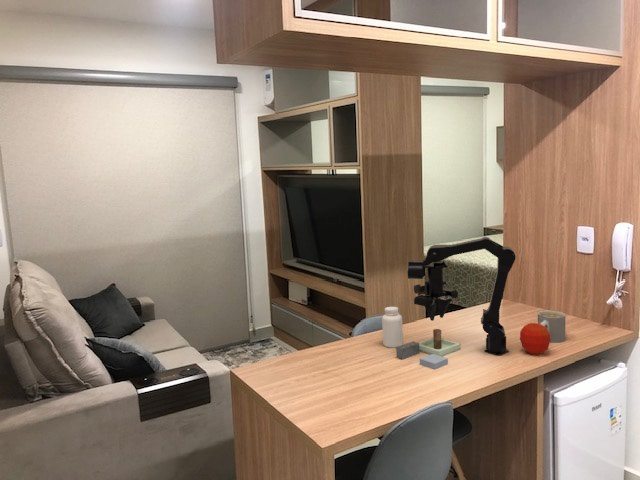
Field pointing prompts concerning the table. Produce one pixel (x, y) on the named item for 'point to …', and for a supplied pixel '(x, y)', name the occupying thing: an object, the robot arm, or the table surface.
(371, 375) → the table surface
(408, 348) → the dark gray block
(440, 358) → the board
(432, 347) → the tray
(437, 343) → the dowel
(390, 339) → the pill bottle
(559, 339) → the coffee mug
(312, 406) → the table surface
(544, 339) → the apple
